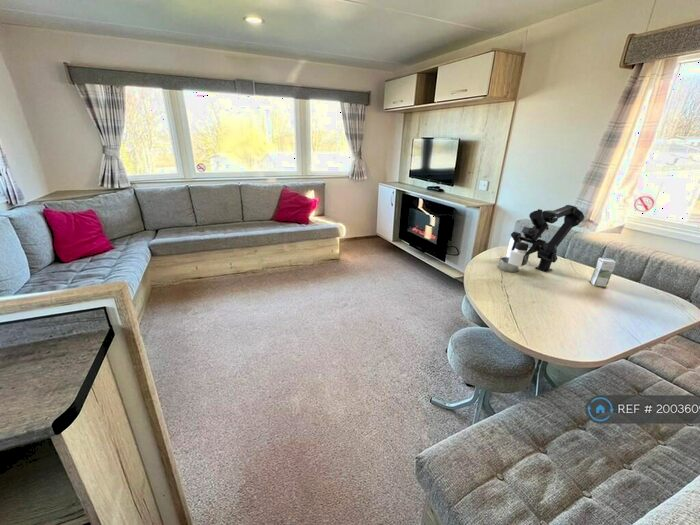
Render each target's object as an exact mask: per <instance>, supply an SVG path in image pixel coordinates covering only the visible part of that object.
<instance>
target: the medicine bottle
mask: <svg viewBox="0 0 700 525" xmlns="http://www.w3.org/2000/svg"><path fill="white" fill-rule="evenodd" d="M529 246H530V245H529V243H528V242H526V241H525V242H517V243H516V245H515V250H513V251H511V253H510V257H509V261H508V263H509V264H512V265H516V266H519V267H518V268H523V267H524V266H526V265H527V264H528V261H529V257H530V254H529V255H527V256H525V254H526V252H527V251H528V250H529Z"/></svg>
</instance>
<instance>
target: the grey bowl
mask: <svg viewBox="0 0 700 525" xmlns="http://www.w3.org/2000/svg"><path fill="white" fill-rule="evenodd" d="M508 261H509V257H507V256H505V257H500V258H499V262H498V265H497V268H498V269H499V270H501V271H504V272H508V273H517V272H518V270H519V268H520V267H519V266H516V265H512V264H509V263H508Z"/></svg>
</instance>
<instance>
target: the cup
mask: <svg viewBox="0 0 700 525" xmlns="http://www.w3.org/2000/svg"><path fill="white" fill-rule="evenodd" d="M510 237H511V238H510V240H509V243H508V247H507V252H506V257H510V253H511V251H512V247H513V244H514V240H513V238H512V236H510ZM521 242H525V243H526V241H523V240H522V241H521Z"/></svg>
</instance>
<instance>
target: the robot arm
mask: <svg viewBox="0 0 700 525" xmlns="http://www.w3.org/2000/svg"><path fill="white" fill-rule="evenodd" d="M528 217H529V220H530V221H531V224H532V225H533V226H532V227H528V226H523V227H522V229H521V231H520V232H521V233H520V232H518V231H512V232H511V233H510V237H512V238H513V240H514V244H513V247H512V251H513V250H515V245H516V243H517V242H521V241H522V240H523V241H525V243H528V244H529V243H530V244H532V245H531V246H530V247H529V248H528V250H527V252H526V254H525V256H527V255H529V256H530V255H532V254H534V253H536V252H537V254H536V256H537V259H540V260H539V263H538V266H536V267H535V269H536V270H539V271H543V272H546V273H548V272H550V271H552V270H553V269H552V268H551V266H552V264H553V263H556V262H557V261H558V256H557V254H558V247H559V245H560V244H561V243H562V242H563V241H564V239H565V237H566V236H567V235H568V234H569V232H570V231H571V230H572V229H573V228H574V227H577V226H579V225H580V224H581V222H583V221H584V220H585V214H584V213H583V211H581V210H580V209H579V208H578V207H577V206H576V205H572V204H566V205H564V206H562V207H559V208H556V209H554V210H553V209H551V210H550V209H548V210H547V209H546V210H543V209H540V208H538V209H537V210H534V211H531V212H530V213H529V216H528ZM562 217H563V224H561V226H560V227H559V228H558V230H557V231H556V232H555V234H554V235H553V236H552V237H551V238H550V240H549V241H548V242H547V241H546V240H543V239H540V238H542V237H543V236H542V234H543V233H544V232H545V231H548V230H549V224H552V225H553V224H554V223H556V222H557V221H559V219H560V218H562ZM522 233H523V236H522Z"/></svg>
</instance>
